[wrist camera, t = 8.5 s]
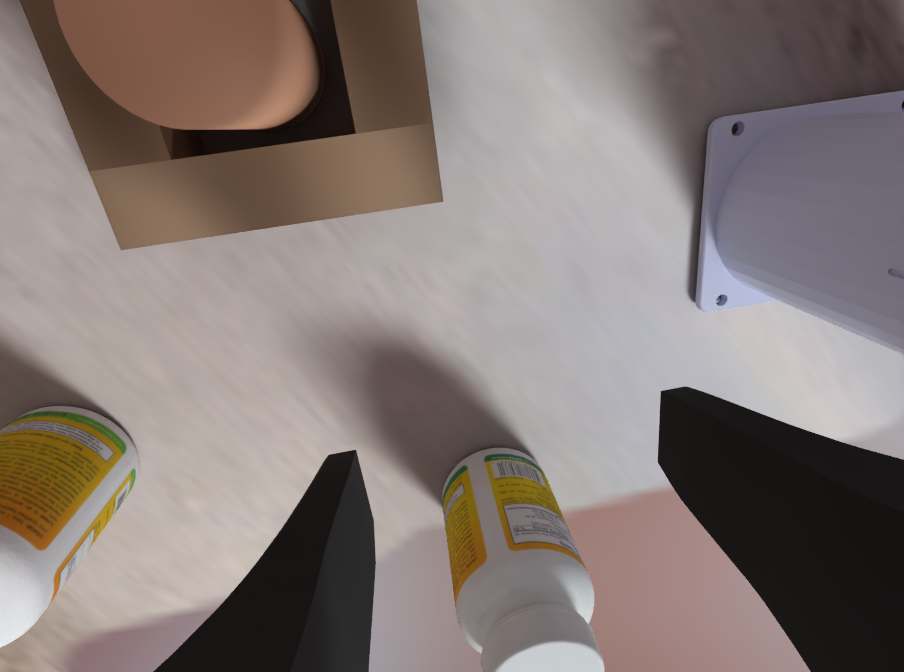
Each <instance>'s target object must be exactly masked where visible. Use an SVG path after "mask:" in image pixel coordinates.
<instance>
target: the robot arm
mask: <svg viewBox="0 0 904 672" xmlns="http://www.w3.org/2000/svg"><path fill="white" fill-rule="evenodd" d="M903 101H904V90H902V91H895V92H888V93H881V94H874V95H867V96H861V97H854V98H847V99H840V100H833V101H826V102H819V103H812V104H806V105H799V106H792V107H785V108H778V109H771V110H764V111H757V112H751V113H744V114H737V115H730V116H723V117H719V118H716V119H715V120H714V121H713V122H712V123H711V125H710V126H709V129H708V135H707V149H706V163H705V176H704V190H703V204H702V218H701V232H700V245H699V259H698V273H697V287H696V301H695V302H696V306H697V307H698V309H700V310H702V311H704V312H714V311H720V310H726V309H732V308H737V307H743V306H749V305H755V304H761V303H767V302H773V301H781V302H783V303H786V304H788V305H790V306H793V307H795V308H797V309H800V310H802V311H804V312H806V313H809V314H811V315H813V316H816V317H818V318H820V319H823V320H825V321H827V322H829V323H832V324H834V325H836V326H839V327H841V328H843V329H846V330H848V331H850V332H852V333H855V334H857V335H859V336H862V337H864V338H866V339H869V340H871V341H873V342H875V343H878V344H880V345H882V346H885V347H887V348H889V349H892V350H894V351H896V352H898V353H901V354H903V355H904V106H903V108H902V103H903ZM735 123H737V125H738V129H737V132H736V133H735V134H734V135H733V134H732V131H731V129H732V126H733V125H734V124H735ZM720 295H722V298H721V300H720V301H719V302H717V303H716V299H717V298H718V297H719V296H720ZM658 463H659V465H660V466H661V468H662V470H663V471H664V473H665V475H666V477H667V478H668V480H669V482H670V483H671V485H672V486H673V488H674V489H675V491H676V492H677V494H678V495H679V497H680V498H681V500H682V501H683V502H684V504H685V505H686V506H687V507H688V509H689V510H690V511H691V512H692V513H693V515H694V516H695V517H696V518H697V520H698V521H699V522H700V523H701V525H702V526H703V527H704V528H705V529H706V531H707V532H708V533H709V534H710V535H711V537H712V538H713V539H714V540H715V542H716V543H717V544H718V545H719V546H720V547H721V549H722V550H723V551H724V552H725V554H727V556H728V557H729V558H730V560H731V561H732V562H733V563H734V564H735V566H736V567H737V568H738V569H739V570H740V572H741V573H742V574H743V575H744V576H745V577H746V579H747V580H748V581H749V583H750V584H751V585H752V587H753V588H754V589H755V590H756V592H757V593H758V594H759V596H760V597H761V598H762V600H763V601H764V602H765V604H766V605H767V607H768V608H769V610H770V611H771V613H772V614H773V616H774V617H775V618H776V620H777V621H778V623H779V624H780V626H781V627H782V629H783V630H784V631H785V633H786V635H787V636H788V637H789V639H790V640H791V642H792V643H793V645H794V646H795V648H796V649H797V651H798V652H799V654H800V656H801V657H802V658H803V660H804V662H805V663H806V665H807V666H808V668H809V669H810V671H811V672H904V460H902V459H899V458H895V457H891V456H888V455H884V454H880V453H877V452H873V451H870V450H866V449H862V448H858V447H856V446H852V445H849V444H846V443H842V442H839V441H836V440H833V439H830V438H827V437H824V436H821V435H818V434H815V433H812V432H809V431H806V430H803V429H801V428H798V427H795V426H792V425H789V424H787V423H784V422H781V421H779V420H776V419H773V418H771V417H768V416H765V415H763V414H760V413H757V412H755V411H752V410H750V409H747V408H744V407H742V406H739V405H737V404H734V403H731V402H729V401H726V400H724V399H721V398H718V397H716V396H713V395H710V394H707V393H705V392H702V391H699V390H696V389H692V388H689V387H680V388H675V389H670V390H665V391H661V402H660V425H659V447H658ZM375 564H376V561H375V538H374V520H373V516H372V512H371V508H370V504H369V500H368V496H367V492H366V488H365V484H364V480H363V476H362V472H361V468H360V464H359V460H358V456H357V452H356V450H352V451H347V452H342V453H337V454H331V455H328V457H327V458H326V459H325V461H324V462H323V464H322V466H321V467H320V469H319V471H318V472H317V474H316V476H315V478H314V479H313V481H312V483H311V484H310V486H309V487H308V489H307V491H306V492H305V494H304V496H303V497H302V499H301V500H300V502H299V503H298V505H297V506H296V508H295V509H294V511H293V513H292V514H291V516H290V517H289V519H288V520H287V522H286V523H285V525H284V526H283V528H282V529H281V530H280V532H279V533H278V535H277V536H276V537H275V539H274V540H273V541H272V543H271V544H270V545H269V547H268V548H267V550H266V551H265V552H264V554H263V555H262V556H261V558H260V559H259V560H258V562H257V563H256V564H255V565H254V567H253V568H252V569H251V570H250V572H249V573H248V574H247V575H246V577H245V578H244V579H243V580H242V582H241V583H240V584H239V585H238V586H237V587H236V588H235V590H234V591H233V592H232V593H231V594H230V595H229V596H228V598H227V599H226V600H225V601H224V602H223V603H222V604H221V605H220V606H219V608H218V609H217V610H216V611H215V612H214V613H213V614H212V615H211V616H210V617H209V618H208V619H207V620H206V621H205V622H204V623H203V624H202V625H201V626H200V627H199V628H198V629H197V630H196V631H195V632H194V633H193V634H192V635H191V636H190V637H189V638H188V639H187V640H186V641H185V642H184V643H183V644H182V645H181V646H180V647H179V648H178V649H177V650H176V651H175V652H174V653H173V654H172V655H171V656H170V657H169V658H168V659H167V660H166V661H164V662H163V663H162V664H161V665H160V666H159V667H158V668H157V669H156V670H155V671H154V672H368V671H369V654H370V639H371V625H372V610H373V596H374V580H375Z"/></svg>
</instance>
